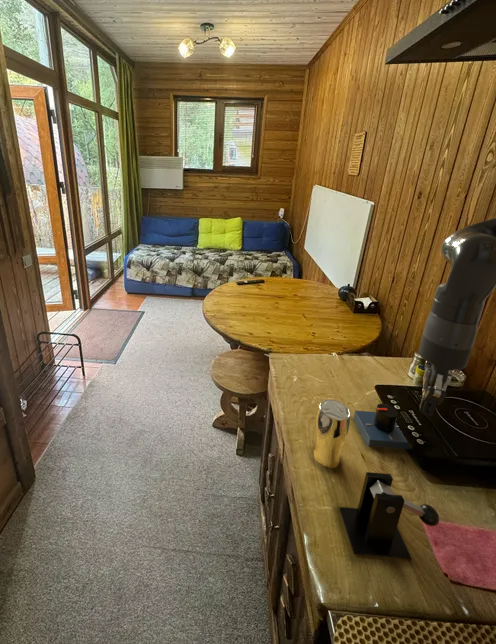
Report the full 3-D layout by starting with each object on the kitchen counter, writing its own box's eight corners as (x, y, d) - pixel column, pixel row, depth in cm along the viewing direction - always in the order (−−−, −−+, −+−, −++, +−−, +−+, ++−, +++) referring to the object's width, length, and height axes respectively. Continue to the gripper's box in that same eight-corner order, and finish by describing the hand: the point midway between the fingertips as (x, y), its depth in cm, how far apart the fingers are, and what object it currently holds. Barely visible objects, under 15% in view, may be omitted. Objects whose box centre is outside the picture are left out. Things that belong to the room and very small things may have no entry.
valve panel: (393, 421, 86) (395, 412, 85) (413, 452, 77) (416, 442, 76) (353, 419, 87) (354, 409, 86) (367, 449, 77) (370, 439, 76)
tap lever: (424, 514, 58) (436, 504, 57) (435, 533, 55) (447, 522, 54) (366, 486, 57) (377, 476, 56) (374, 504, 54) (385, 493, 53)
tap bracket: (388, 515, 62) (401, 467, 58) (410, 562, 55) (427, 511, 51) (338, 510, 63) (347, 463, 59) (352, 557, 55) (364, 506, 51)
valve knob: (388, 419, 83) (392, 403, 81) (397, 433, 78) (402, 416, 77) (370, 418, 83) (373, 402, 82) (378, 432, 79) (382, 415, 77)
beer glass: (304, 452, 76) (312, 403, 71) (326, 443, 79) (335, 395, 74) (325, 477, 70) (334, 424, 65) (348, 466, 73) (358, 415, 68)
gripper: (478, 361, 50) (450, 444, 55) (468, 329, 60) (446, 401, 66) (423, 346, 54) (402, 425, 59) (423, 319, 64) (405, 388, 70)
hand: (425, 412), depth 62 cm, fingers closed
